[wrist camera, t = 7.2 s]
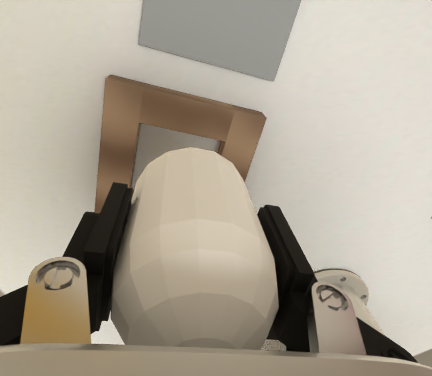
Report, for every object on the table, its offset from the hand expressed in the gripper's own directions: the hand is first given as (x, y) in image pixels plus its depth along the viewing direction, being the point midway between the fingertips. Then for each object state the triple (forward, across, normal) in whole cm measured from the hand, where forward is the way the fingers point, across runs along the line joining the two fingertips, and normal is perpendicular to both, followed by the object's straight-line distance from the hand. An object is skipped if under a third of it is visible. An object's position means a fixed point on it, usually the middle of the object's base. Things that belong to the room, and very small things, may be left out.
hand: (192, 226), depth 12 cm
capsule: (+2, 0, 0) cm, 2 cm away
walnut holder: (+18, 0, +5) cm, 18 cm away
